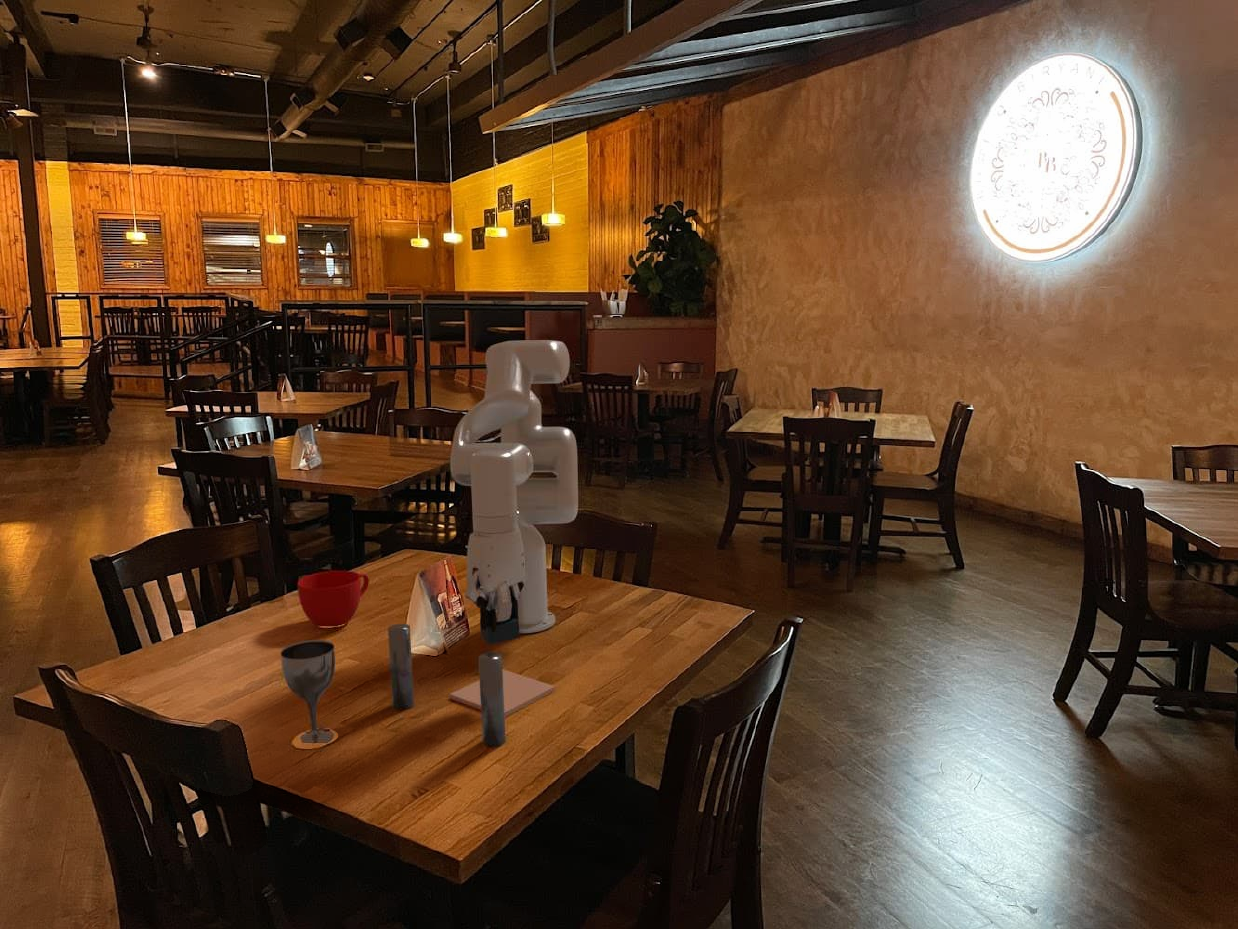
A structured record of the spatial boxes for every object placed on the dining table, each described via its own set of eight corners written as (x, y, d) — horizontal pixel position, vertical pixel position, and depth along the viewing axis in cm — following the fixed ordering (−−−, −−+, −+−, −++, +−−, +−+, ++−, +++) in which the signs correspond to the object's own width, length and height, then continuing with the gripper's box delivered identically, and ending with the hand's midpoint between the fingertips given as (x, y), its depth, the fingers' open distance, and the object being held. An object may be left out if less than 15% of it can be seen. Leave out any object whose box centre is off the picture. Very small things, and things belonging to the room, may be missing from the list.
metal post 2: (477, 742, 139) (473, 658, 137) (494, 733, 142) (490, 650, 139) (494, 749, 137) (490, 663, 134) (510, 740, 140) (506, 655, 137)
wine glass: (296, 728, 145) (288, 641, 142) (346, 725, 146) (339, 638, 143) (282, 752, 137) (273, 660, 134) (335, 749, 138) (327, 658, 135)
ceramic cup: (389, 614, 198) (386, 571, 196) (328, 638, 184) (324, 592, 182) (350, 604, 205) (347, 563, 203) (288, 627, 191) (284, 583, 189)
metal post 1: (388, 706, 152) (383, 628, 150) (405, 698, 155) (400, 622, 153) (402, 711, 150) (397, 632, 148) (418, 704, 153) (414, 626, 150)
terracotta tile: (449, 698, 155) (449, 694, 155) (502, 673, 165) (502, 669, 165) (503, 718, 147) (503, 713, 147) (555, 690, 157) (555, 686, 157)
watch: (506, 626, 159) (503, 567, 157) (523, 641, 152) (519, 579, 150) (476, 633, 156) (472, 573, 154) (492, 648, 149) (488, 585, 147)
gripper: (514, 511, 159) (518, 608, 163) (442, 530, 146) (448, 635, 149) (545, 516, 155) (548, 616, 158) (474, 536, 142) (479, 645, 145)
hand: (499, 624), depth 154 cm, fingers closed on watch, 4 cm apart
